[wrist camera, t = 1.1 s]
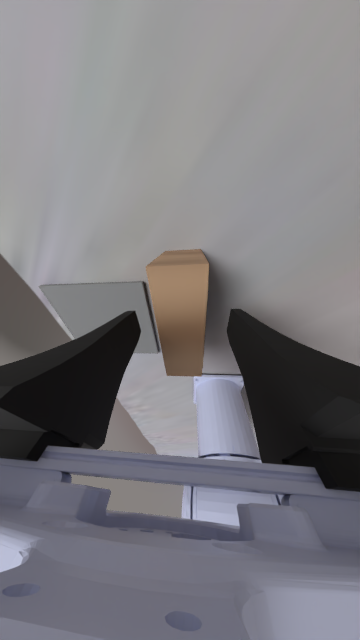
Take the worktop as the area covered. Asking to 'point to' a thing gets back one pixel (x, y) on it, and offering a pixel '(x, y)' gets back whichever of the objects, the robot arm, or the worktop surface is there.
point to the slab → (180, 308)
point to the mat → (102, 307)
